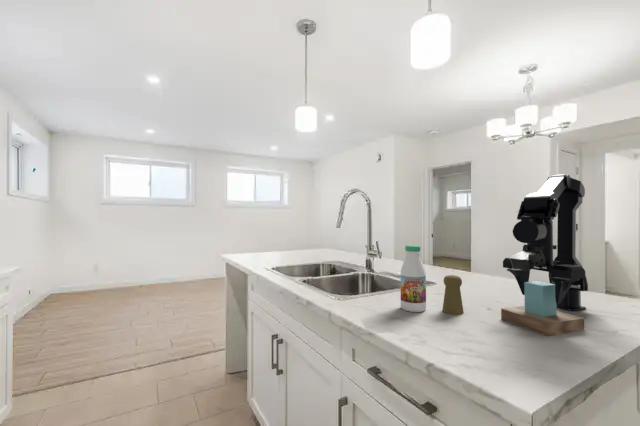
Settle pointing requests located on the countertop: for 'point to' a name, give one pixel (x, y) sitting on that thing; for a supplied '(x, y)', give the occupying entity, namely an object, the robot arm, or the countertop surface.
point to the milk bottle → (413, 281)
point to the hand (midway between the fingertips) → (540, 299)
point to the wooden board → (543, 321)
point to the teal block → (540, 298)
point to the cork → (452, 295)
